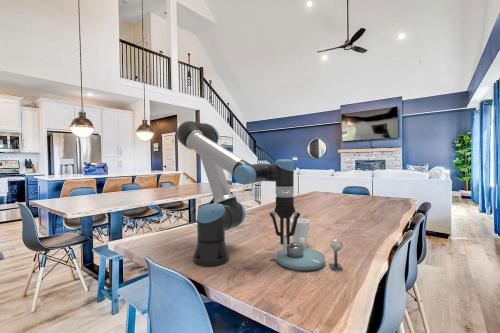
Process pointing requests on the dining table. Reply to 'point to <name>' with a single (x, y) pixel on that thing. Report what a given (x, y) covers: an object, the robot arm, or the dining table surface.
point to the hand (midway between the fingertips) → (285, 251)
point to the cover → (295, 250)
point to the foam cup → (301, 230)
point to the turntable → (302, 259)
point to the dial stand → (336, 246)
